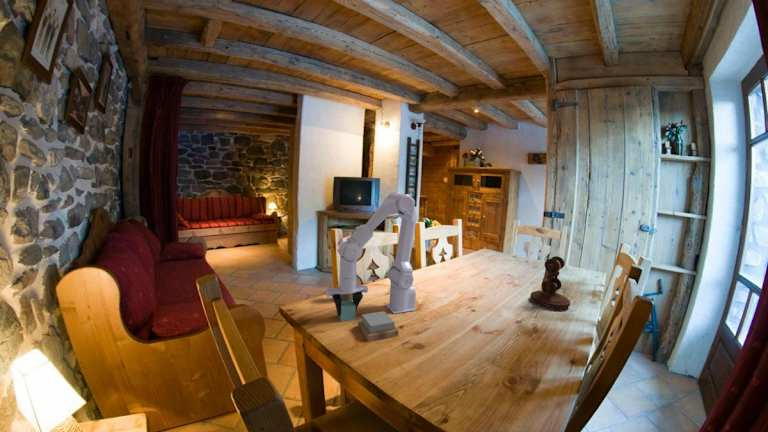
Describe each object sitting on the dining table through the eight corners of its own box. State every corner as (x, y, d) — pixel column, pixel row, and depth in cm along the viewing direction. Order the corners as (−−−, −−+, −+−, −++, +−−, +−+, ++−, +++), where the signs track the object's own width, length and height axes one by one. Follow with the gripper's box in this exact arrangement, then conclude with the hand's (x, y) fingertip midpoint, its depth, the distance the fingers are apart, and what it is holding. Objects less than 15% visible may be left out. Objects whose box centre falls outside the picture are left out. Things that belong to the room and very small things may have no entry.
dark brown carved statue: (537, 293, 138) (542, 251, 135) (573, 304, 128) (580, 259, 125) (524, 302, 128) (530, 256, 125) (563, 314, 117) (570, 265, 115)
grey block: (383, 318, 103) (384, 311, 103) (394, 329, 96) (394, 322, 95) (361, 321, 100) (362, 314, 99) (370, 333, 92) (371, 326, 92)
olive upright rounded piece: (350, 303, 118) (351, 276, 116) (335, 301, 119) (336, 274, 118) (354, 297, 124) (355, 271, 122) (340, 295, 125) (341, 269, 123)
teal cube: (351, 313, 109) (351, 300, 109) (355, 319, 105) (355, 305, 104) (337, 315, 107) (338, 301, 107) (341, 321, 103) (341, 307, 102)
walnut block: (385, 323, 105) (385, 316, 104) (398, 338, 96) (398, 330, 95) (357, 327, 101) (358, 320, 100) (368, 343, 92) (368, 335, 91)
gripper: (363, 270, 111) (362, 306, 113) (324, 274, 105) (323, 311, 107) (370, 277, 104) (368, 314, 106) (329, 281, 98) (328, 320, 100)
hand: (346, 313), depth 106 cm, fingers closed on teal cube, 5 cm apart
